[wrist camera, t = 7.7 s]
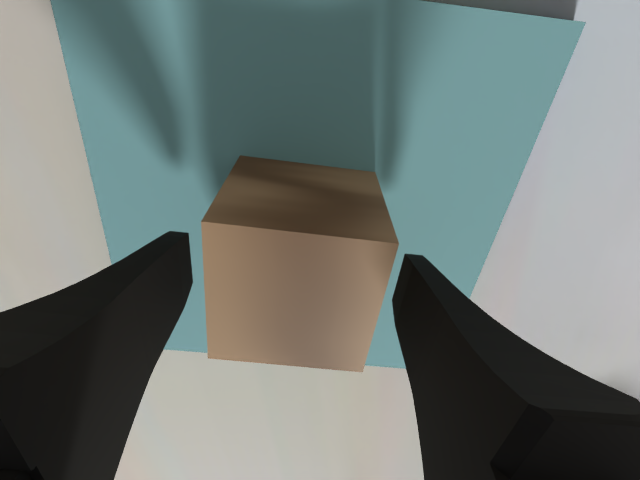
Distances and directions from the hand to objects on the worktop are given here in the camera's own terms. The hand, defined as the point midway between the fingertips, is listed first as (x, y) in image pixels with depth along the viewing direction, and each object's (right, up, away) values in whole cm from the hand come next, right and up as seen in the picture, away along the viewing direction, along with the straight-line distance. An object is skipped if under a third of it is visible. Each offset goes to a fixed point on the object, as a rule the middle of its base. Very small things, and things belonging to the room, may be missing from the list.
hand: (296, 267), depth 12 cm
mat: (0, +2, +3) cm, 3 cm away
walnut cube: (0, +2, +2) cm, 3 cm away
